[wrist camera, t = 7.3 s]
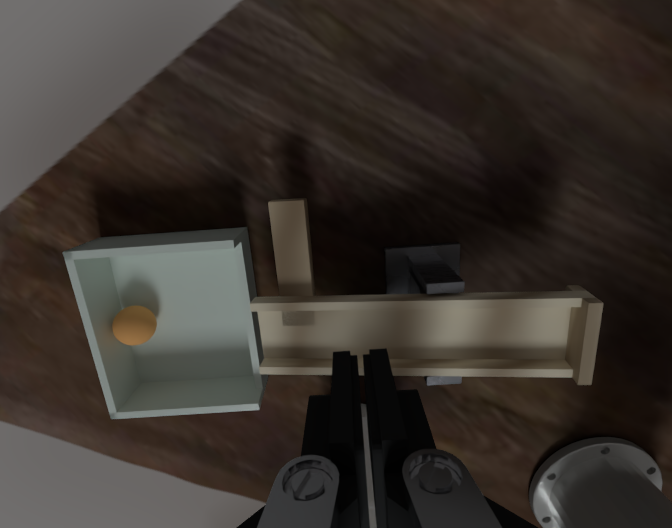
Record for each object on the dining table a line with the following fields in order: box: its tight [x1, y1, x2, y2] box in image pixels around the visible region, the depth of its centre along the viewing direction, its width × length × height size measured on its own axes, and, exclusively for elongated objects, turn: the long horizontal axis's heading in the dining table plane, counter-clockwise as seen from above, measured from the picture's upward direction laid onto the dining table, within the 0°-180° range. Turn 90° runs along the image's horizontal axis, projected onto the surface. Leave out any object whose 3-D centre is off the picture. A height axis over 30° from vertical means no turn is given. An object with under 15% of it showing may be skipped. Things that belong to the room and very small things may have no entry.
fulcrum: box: [385, 242, 464, 385], centre depth 29 cm, size 6×9×7 cm, turn 4°
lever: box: [250, 198, 603, 385], centre depth 25 cm, size 22×12×3 cm, turn 94°
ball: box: [112, 305, 157, 345], centre depth 31 cm, size 3×3×3 cm
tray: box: [63, 227, 268, 419], centre depth 31 cm, size 14×12×4 cm
